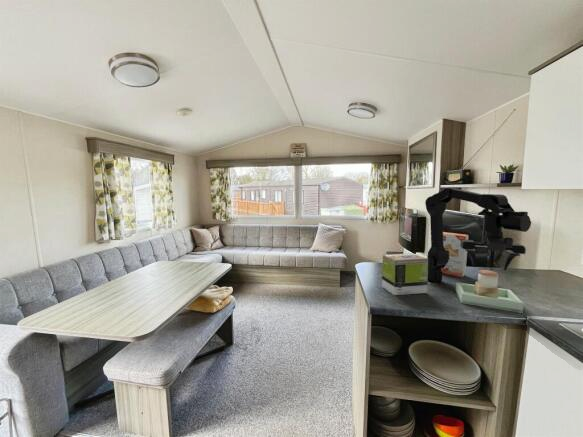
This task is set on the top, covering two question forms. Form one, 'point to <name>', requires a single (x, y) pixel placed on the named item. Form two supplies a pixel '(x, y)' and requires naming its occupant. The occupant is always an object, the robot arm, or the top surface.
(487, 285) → the cream tub
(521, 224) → the robot arm
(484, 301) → the green tote
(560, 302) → the top surface
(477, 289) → the oak block
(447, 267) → the cracker box
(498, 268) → the top surface
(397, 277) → the tea box
